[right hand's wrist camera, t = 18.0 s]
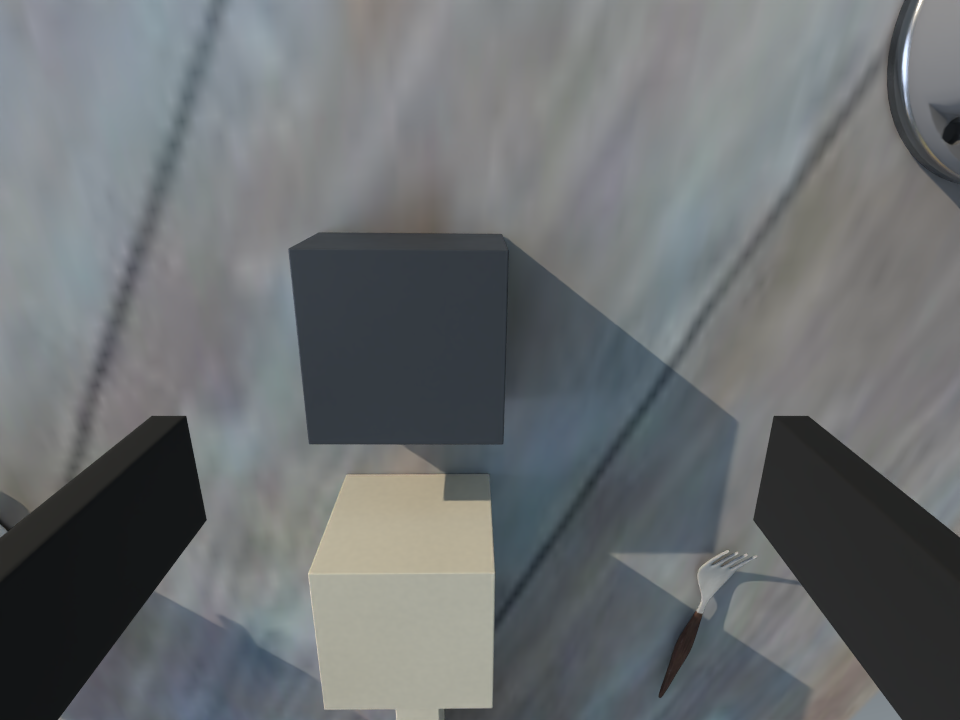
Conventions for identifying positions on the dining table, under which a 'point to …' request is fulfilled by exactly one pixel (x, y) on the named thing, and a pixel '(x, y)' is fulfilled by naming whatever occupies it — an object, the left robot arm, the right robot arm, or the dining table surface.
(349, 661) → the cream block
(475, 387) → the dark gray block
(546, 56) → the dining table surface
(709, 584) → the fork
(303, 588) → the dining table surface
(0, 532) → the left robot arm
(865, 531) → the right robot arm
